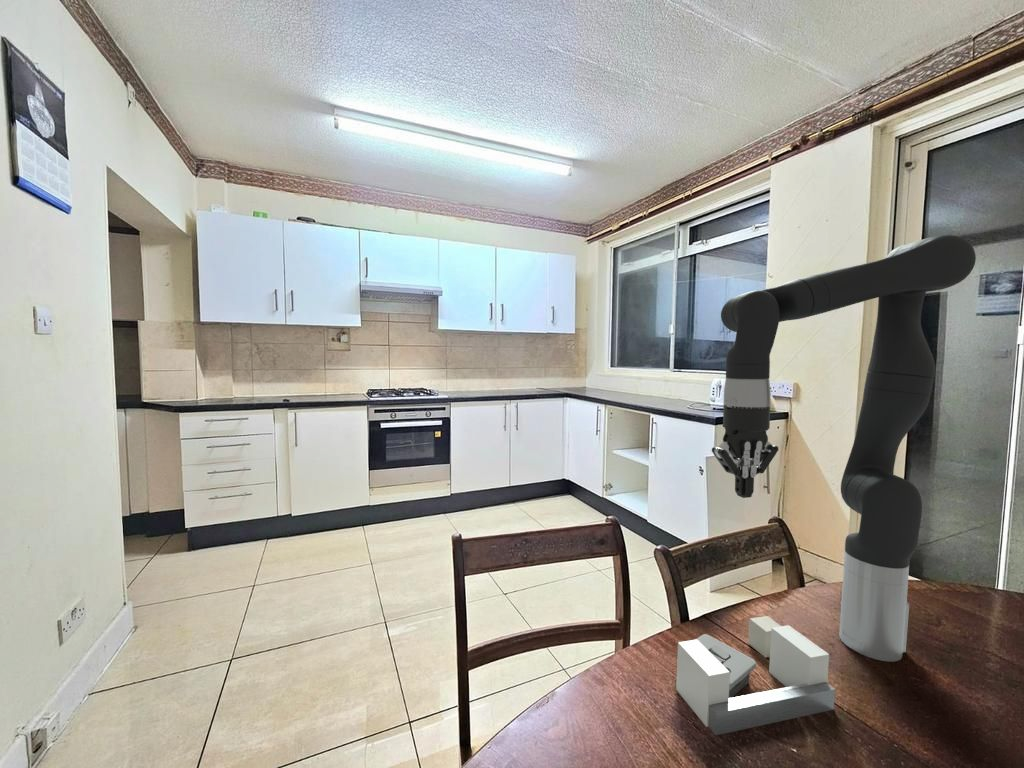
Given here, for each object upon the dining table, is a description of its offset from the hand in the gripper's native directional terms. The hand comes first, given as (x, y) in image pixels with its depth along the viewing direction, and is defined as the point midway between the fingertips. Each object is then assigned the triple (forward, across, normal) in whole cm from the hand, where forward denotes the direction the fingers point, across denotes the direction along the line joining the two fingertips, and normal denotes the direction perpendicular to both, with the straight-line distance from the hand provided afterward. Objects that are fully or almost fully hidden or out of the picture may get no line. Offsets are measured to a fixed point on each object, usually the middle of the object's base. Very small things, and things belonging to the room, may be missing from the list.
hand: (743, 496), depth 81 cm
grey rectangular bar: (+28, +8, +16) cm, 33 cm away
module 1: (+28, +17, +11) cm, 35 cm away
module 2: (+28, -1, +11) cm, 31 cm away
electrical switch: (+29, +9, +11) cm, 32 cm away
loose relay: (+28, -4, +2) cm, 29 cm away
